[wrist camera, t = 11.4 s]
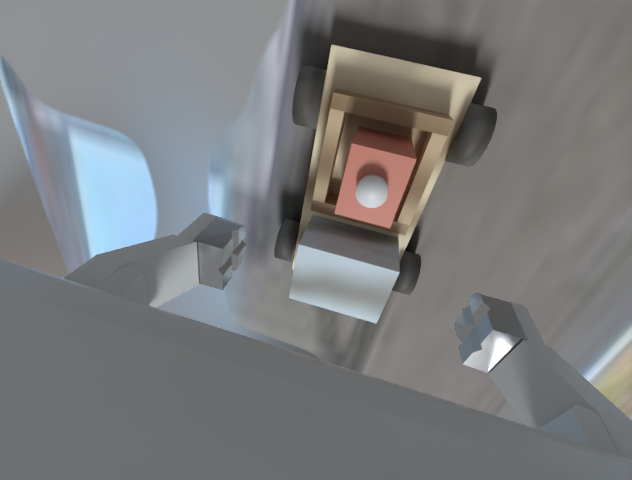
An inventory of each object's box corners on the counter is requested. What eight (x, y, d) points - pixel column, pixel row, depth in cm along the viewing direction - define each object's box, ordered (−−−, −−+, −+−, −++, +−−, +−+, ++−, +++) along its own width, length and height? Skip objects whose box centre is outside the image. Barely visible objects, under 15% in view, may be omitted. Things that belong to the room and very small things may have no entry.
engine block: (359, 125, 22) (350, 146, 17) (411, 138, 22) (417, 163, 17) (343, 186, 25) (332, 219, 20) (390, 198, 24) (390, 234, 20)
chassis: (314, 40, 21) (286, 36, 16) (497, 80, 20) (539, 92, 15) (283, 254, 33) (260, 297, 27) (399, 286, 32) (401, 339, 26)
